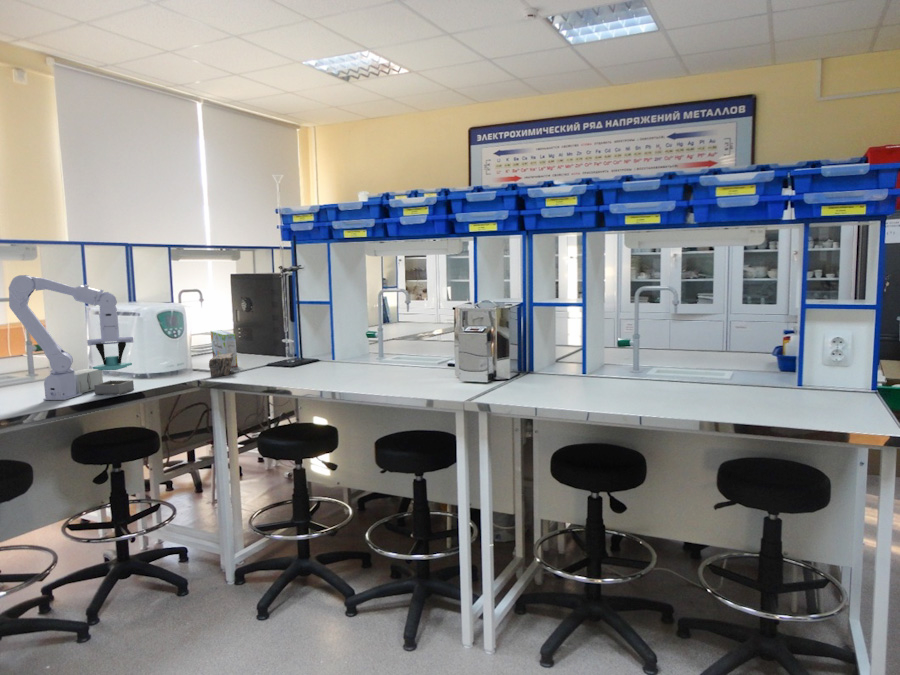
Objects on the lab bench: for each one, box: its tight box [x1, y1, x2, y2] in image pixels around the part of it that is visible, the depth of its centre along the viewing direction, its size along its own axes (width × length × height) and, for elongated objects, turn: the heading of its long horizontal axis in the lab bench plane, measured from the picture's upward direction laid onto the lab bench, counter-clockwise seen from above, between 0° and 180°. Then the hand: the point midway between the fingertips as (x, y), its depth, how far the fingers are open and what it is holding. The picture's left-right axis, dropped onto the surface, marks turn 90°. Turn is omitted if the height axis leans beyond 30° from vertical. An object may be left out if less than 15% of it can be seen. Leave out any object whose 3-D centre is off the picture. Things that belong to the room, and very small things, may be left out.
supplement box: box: [74, 368, 104, 394], centre depth 232 cm, size 7×7×13 cm
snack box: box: [210, 329, 238, 368], centre depth 290 cm, size 21×6×15 cm, turn 37°
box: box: [94, 379, 135, 395], centre depth 229 cm, size 9×9×4 cm
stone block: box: [208, 353, 233, 377], centre depth 265 cm, size 14×9×8 cm, turn 8°
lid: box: [92, 355, 133, 371], centre depth 228 cm, size 9×9×4 cm
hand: (112, 363), depth 228 cm, fingers closed on lid, 4 cm apart
